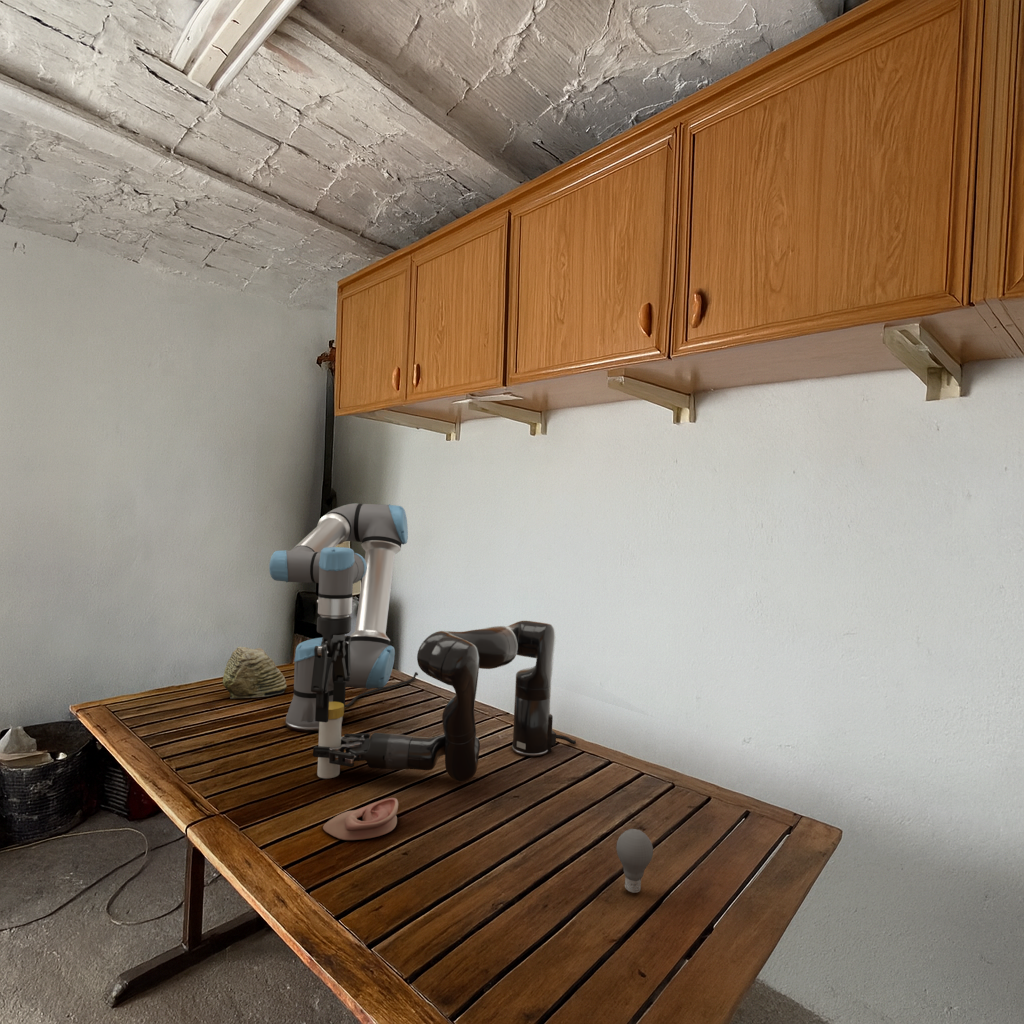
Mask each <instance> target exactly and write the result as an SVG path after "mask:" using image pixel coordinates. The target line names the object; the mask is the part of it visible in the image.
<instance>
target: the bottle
mask: <svg viewBox="0 0 1024 1024" xmlns="http://www.w3.org/2000/svg"><path fill="white" fill-rule="evenodd" d="M342 723H343V722H342V717H340V718H337V719H328V722H319V731H318V745H317V746H323V747H330V748H331V747H340V746H341V736H342V727H343V726H342ZM339 752H340V751H339ZM335 756H336V755H335ZM340 773H341V765H337V764H331V763H329V758H322V757H317V772H316V775H317V777H318V778H320V779H332V778H333V779H334V778H336V777H339V775H340Z"/></svg>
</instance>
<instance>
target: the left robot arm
mask: <svg viewBox="0 0 1024 1024" xmlns="http://www.w3.org/2000/svg"><path fill="white" fill-rule="evenodd" d="M408 539H409V528H408V518H407V514H406V510H405V508H404V507H403V506H401V505H397V504H390V503H389V504H380V503H379V504H377V503H358V502H357V503H355V502H354V503H348V504H344V505H341V506H338V507H336V508H333V509H332V510H329V511H328V512H327V513H325V514H323V516H321V518H319V520H318V522H317V525H316V527H315V528H314V529H312V530H311V531H310V532H309V533H308V534H307V535H306V536H305V537H304V538H302V540H300V541H299V542H298V543H297V544H296V545H295V546H294V547H292V548H291V549H290V550H287V549H284V550H275V551H274V552H273V553H272V554H271V556H270V559H269V565H268V566H269V575H270V578H271V579H272V580H273V581H277V582H285V583H305V584H306V583H307V584H318V599H317V600H316V603H317V614H318V617H317V619H316V633H318V634H319V635H321V636H322V637H315V638H311V639H307V640H304V641H302V642H300V643H298V644H297V645H296V648H295V655H294V660H293V662H294V672H293V695H292V696H293V697H292V699H291V702H290V704H289V707H288V709H287V713H286V715H285V726H286V728H287V729H289V730H291V731H294V732H295V731H296V732H301V733H316V732H318V733H319V722H328V712H329V702H340V703H343V704H344V711H346V708H349V707H350V706H352V705H353V704H354V703H355V701H357V700H358V699H359V698H361V697H363V696H366V695H370V694H373V693H377V692H380V691H384V690H389V689H392V688H396V687H400V686H403V685H405V684H406V685H407V684H408V683H411V682H413V681H414V680H415V679H416V678H417V676H419V673H418V672H417V671H415V672H414V674H413V676H412V677H411V678H409V679H408V680H405V681H402V682H399V683H396V684H392V685H387V684H388V682H389V681H390V678H391V675H392V672H393V668H394V663H395V657H396V656H395V655H396V650H395V647H394V646H392V645H391V639H390V638H389V637H388V635H387V633H386V632H387V626H388V617H389V607H390V599H391V592H392V591H391V590H392V582H393V574H394V568H395V567H394V565H395V558H396V555H397V554H398V553H400V552H401V550H402V545H406V544H407V543H408ZM345 542H356V543H361V548H362V549H363V550H364V551H365V556H362V555H361V554H359V553H358V552H355V551H354V549H352V548H350V547H342V546H338V545H341V544H343V543H345ZM360 581H361V584H360V591H359V599H358V607H357V612H356V613H357V614H356V621H355V628H354V632H352V633H351V631H352V617H351V615H352V614H353V589H354V585H355V584H356V583H358V582H360ZM350 633H351V634H350ZM348 634H350V635H348ZM386 685H387V686H386ZM347 688H353V689H354V688H355V689H367V690H369V691H365V692H363V693H359V694H358V695H356V696H355V697H353V698H352V700H351V701H350V702H349V703H346V689H347ZM370 689H371V690H370ZM343 722H344V715H343V716H342V723H343Z"/></svg>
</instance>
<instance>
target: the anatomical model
mask: <svg viewBox="0 0 1024 1024" xmlns="http://www.w3.org/2000/svg"><path fill="white" fill-rule="evenodd" d="M398 809H399V801H398V799H397V798H396V797H389V798H388V797H387V798H383V799H381V800H378V801H375V802H372V803H369V804H367V805H365V806H363V807H360V808H357V809H353V810H352V809H351V810H348V811H344V812H341V813H340V814H337V815H336V816H333V818H330V819H329V820H328V821H327V822H325V823H324V824H323V826H322V830H323V831H324V832H325V833H326V834H329V835H330V836H332V837H334V838H337V839H339V840H342V841H358V840H359V841H360V840H366V839H373V838H377V837H380V836H383V835H386V834H388V833H390V832H392V831H393V830H394V829H395V828H396V826H397V824H398V817H397V813H398Z"/></svg>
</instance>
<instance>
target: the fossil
mask: <svg viewBox="0 0 1024 1024" xmlns="http://www.w3.org/2000/svg"><path fill="white" fill-rule="evenodd" d="M222 676H223V677H222V685H223V687H224V688H225V690H226V691H228V693H229V698H230V699H250V698H264V697H271V696H275V695H281V694H284V693H285V691H286V689H287V687H288V686H287V680H286V678H285V676H284V674H283V673H282V672H281V669H279V668H278V667H277V665H276V663H275V662H274V660H273V659H272V658H271V657H270V656H269V655H268V654H267V653H266V652H265V650H264V649H263V648H260V647H258V648H251V647H247V646H246V647H245V646H238V647H237V648H236V649H235V650H233V651H232V653H231V656H230V657H229V659H228V660H227V663H226V666H225V668H224V671H223V675H222Z"/></svg>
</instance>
